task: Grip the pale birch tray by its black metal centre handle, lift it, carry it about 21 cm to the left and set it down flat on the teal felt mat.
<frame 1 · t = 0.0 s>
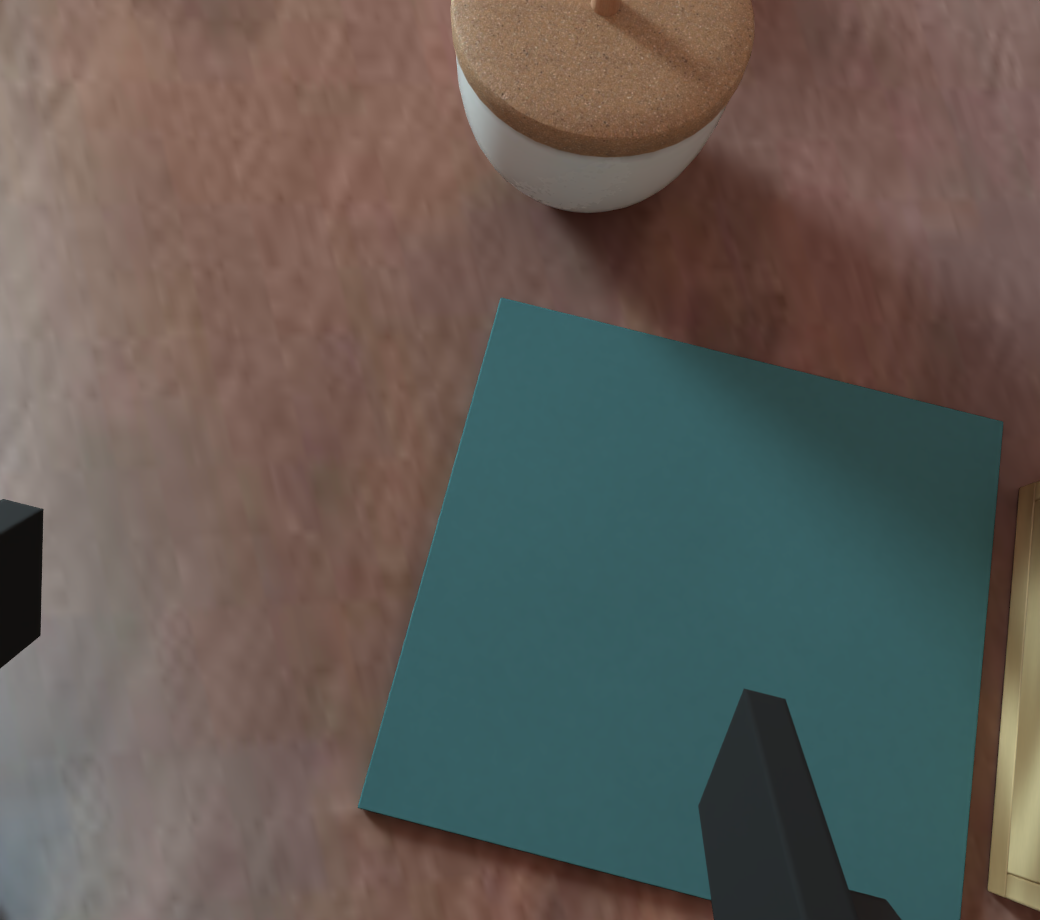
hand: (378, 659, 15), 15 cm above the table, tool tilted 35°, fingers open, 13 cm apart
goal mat: (704, 599, 31), on the table
white jar with lid: (578, 151, 36), on the table
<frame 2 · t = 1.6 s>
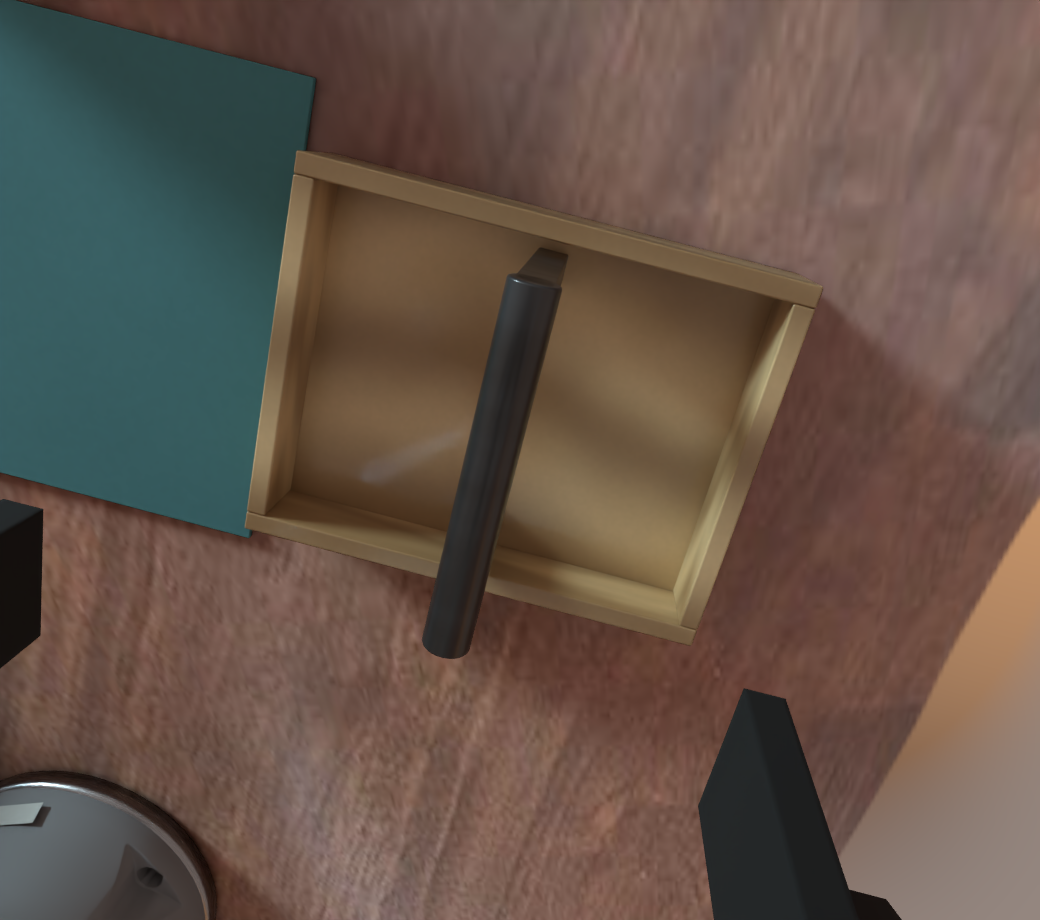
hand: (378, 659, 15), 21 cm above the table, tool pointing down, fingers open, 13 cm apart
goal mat: (43, 267, 35), on the table
tray: (519, 391, 35), on the table
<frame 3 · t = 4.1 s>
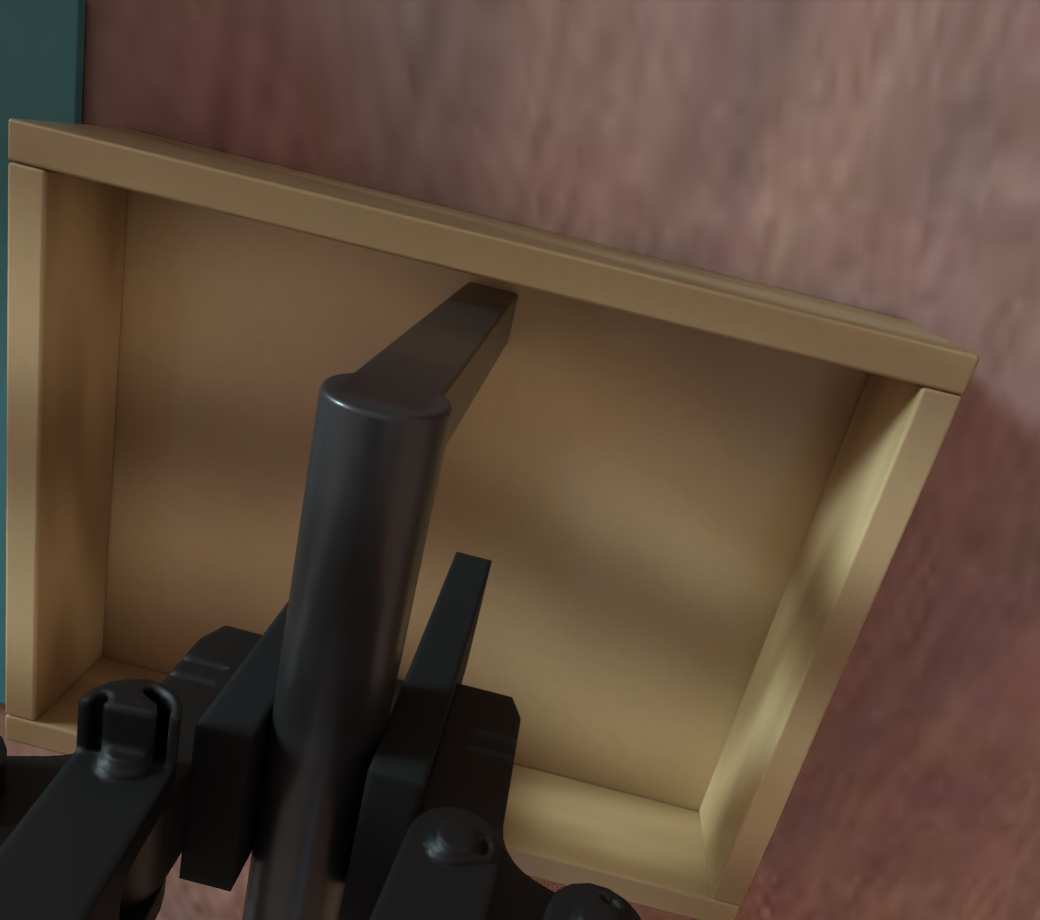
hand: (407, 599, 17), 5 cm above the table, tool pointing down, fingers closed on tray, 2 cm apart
tray: (450, 507, 22), on the table, touching gripper
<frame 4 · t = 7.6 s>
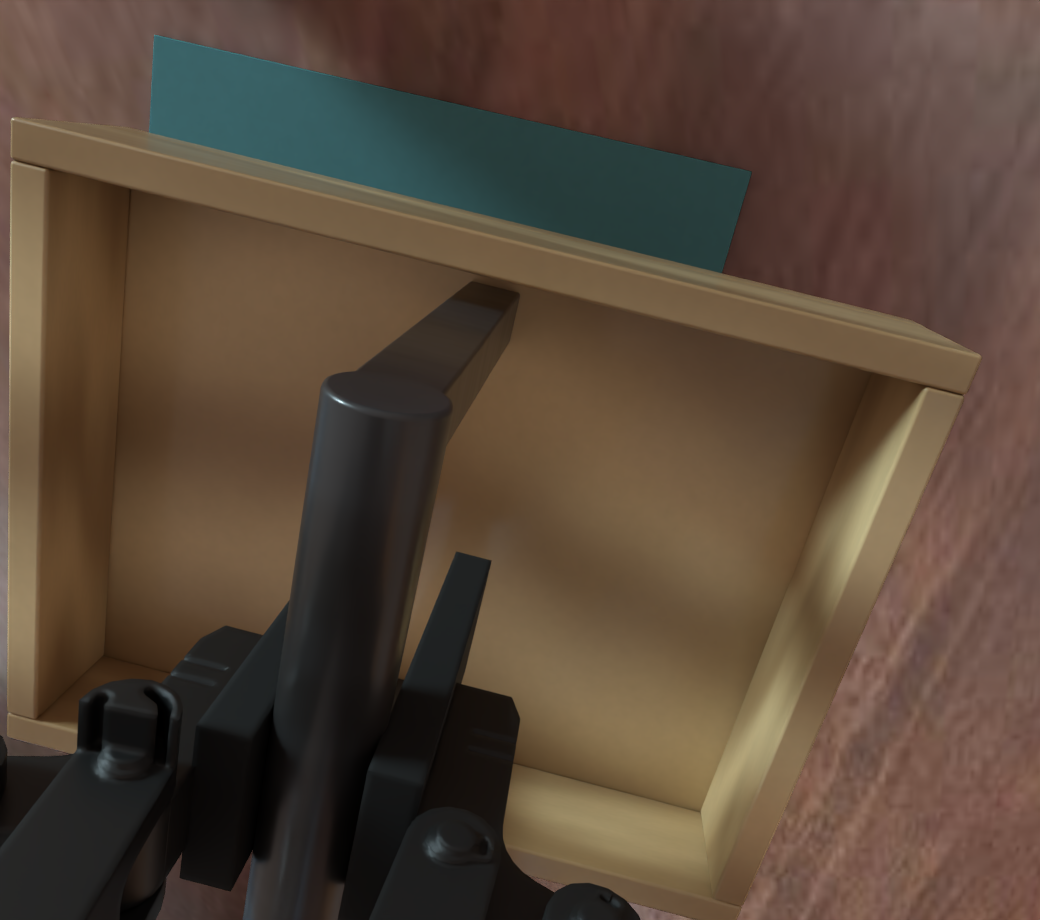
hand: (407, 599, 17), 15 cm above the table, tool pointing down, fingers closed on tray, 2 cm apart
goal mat: (404, 378, 32), on the table
tray: (452, 507, 22), point 10 cm above the table, touching gripper
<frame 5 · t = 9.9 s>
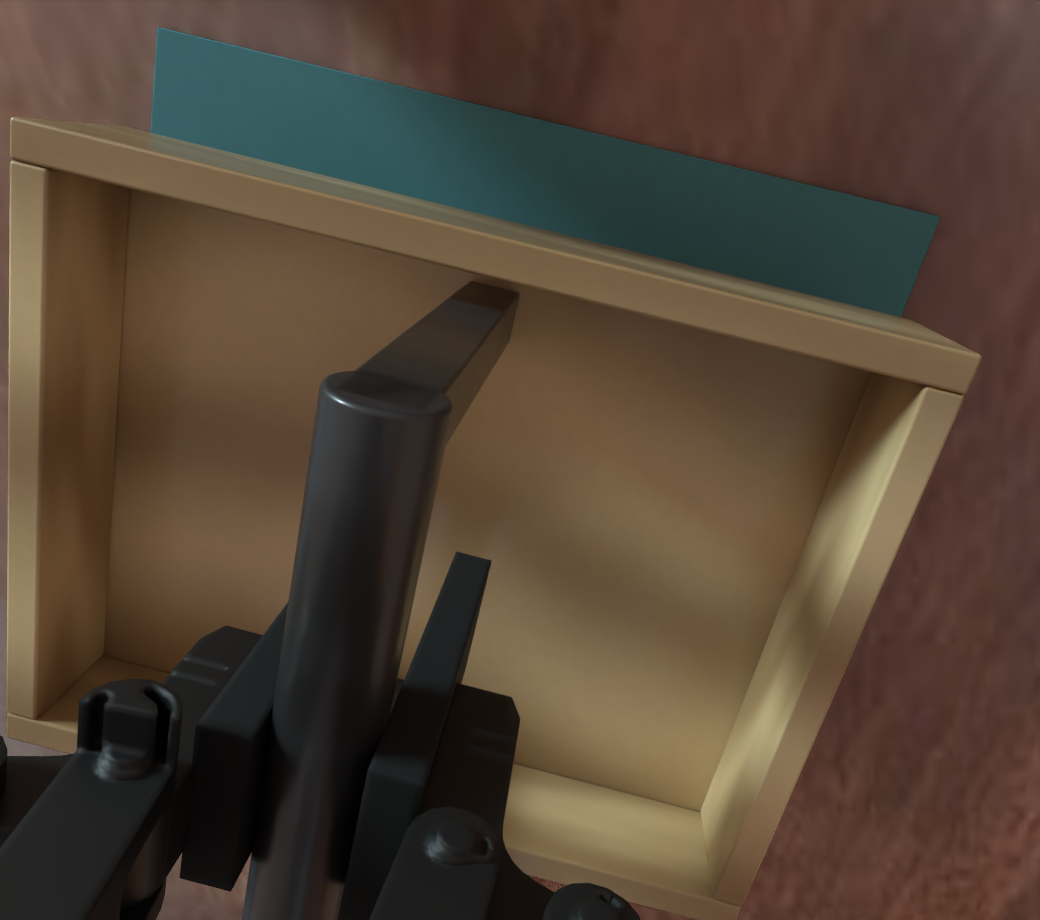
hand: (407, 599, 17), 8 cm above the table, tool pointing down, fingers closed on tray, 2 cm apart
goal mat: (469, 466, 25), on the table
tray: (451, 507, 22), point 3 cm above the table, touching gripper
when the fingers open (5 cm above the table, at t = 10.9 s): tray stays where it is, resting on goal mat.
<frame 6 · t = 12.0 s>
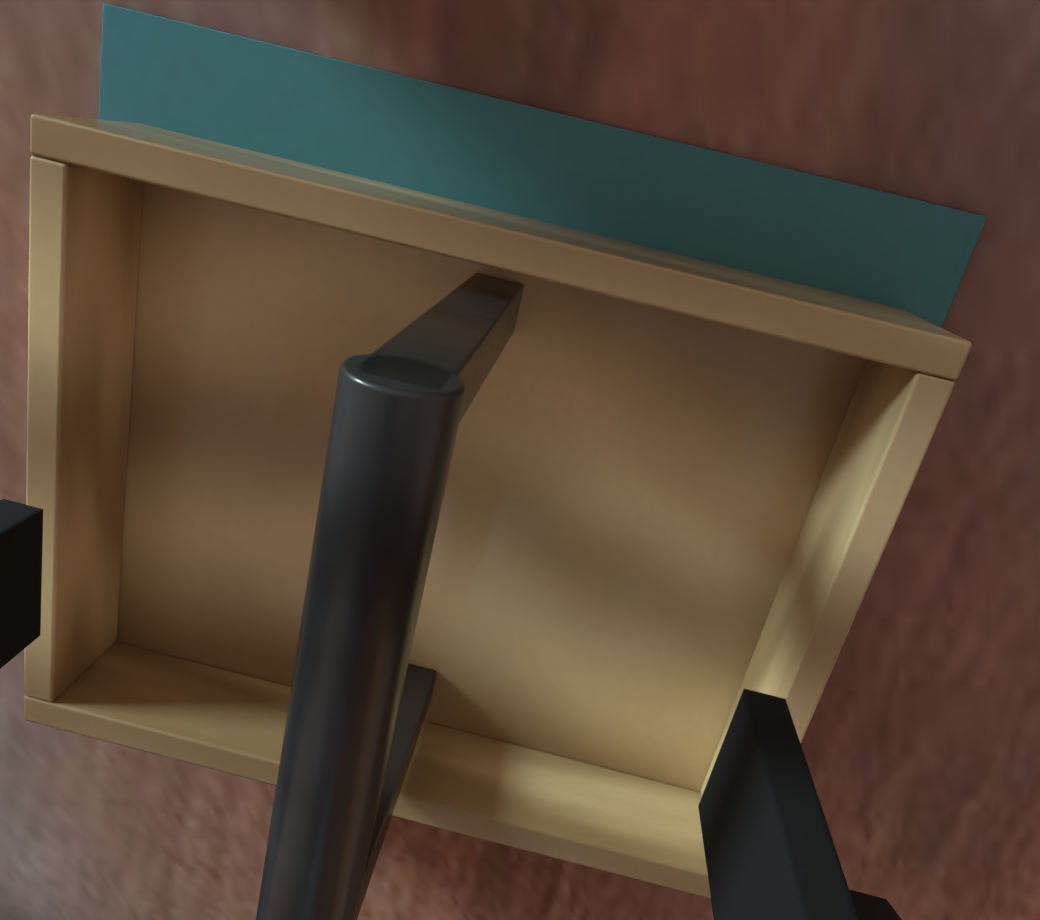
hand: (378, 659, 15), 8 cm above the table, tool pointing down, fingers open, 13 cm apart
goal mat: (457, 493, 23), on the table
tray: (457, 494, 22), resting on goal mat
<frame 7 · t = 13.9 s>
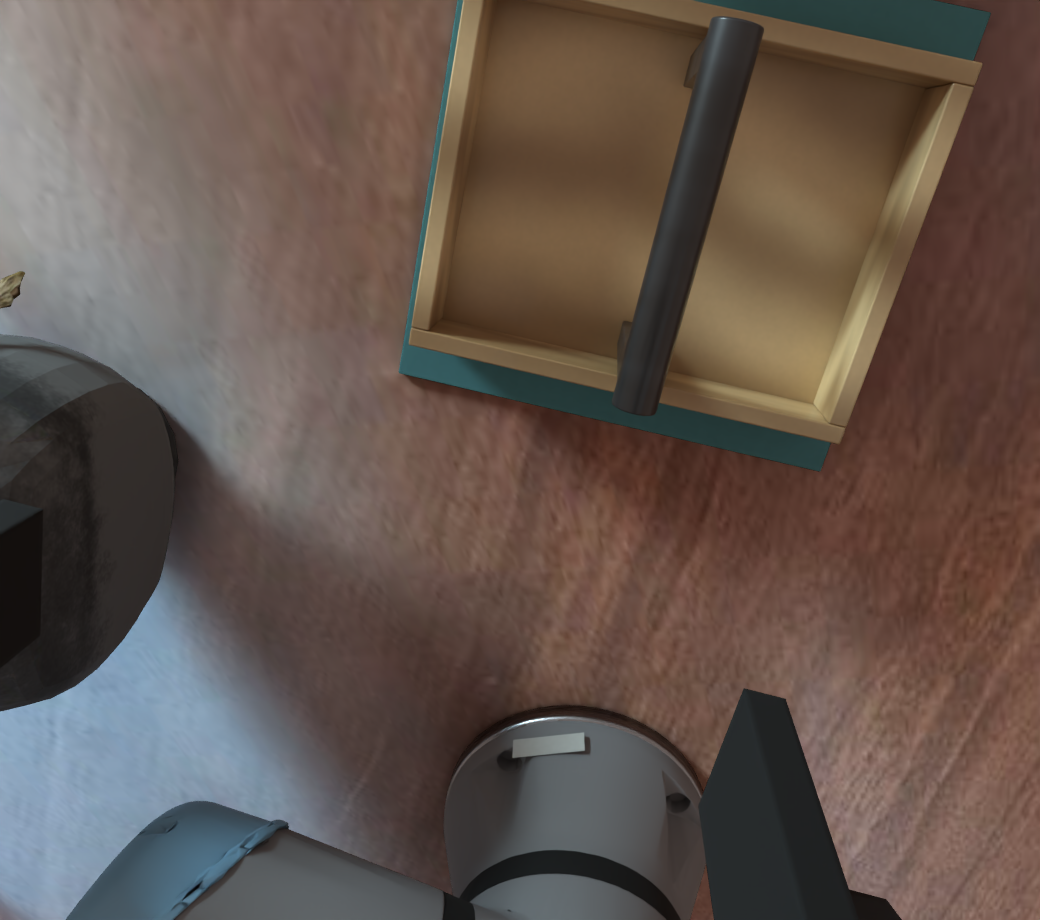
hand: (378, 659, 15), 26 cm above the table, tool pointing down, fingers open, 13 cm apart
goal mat: (662, 212, 36), on the table
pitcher: (117, 416, 43), on the table
tray: (663, 210, 36), resting on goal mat
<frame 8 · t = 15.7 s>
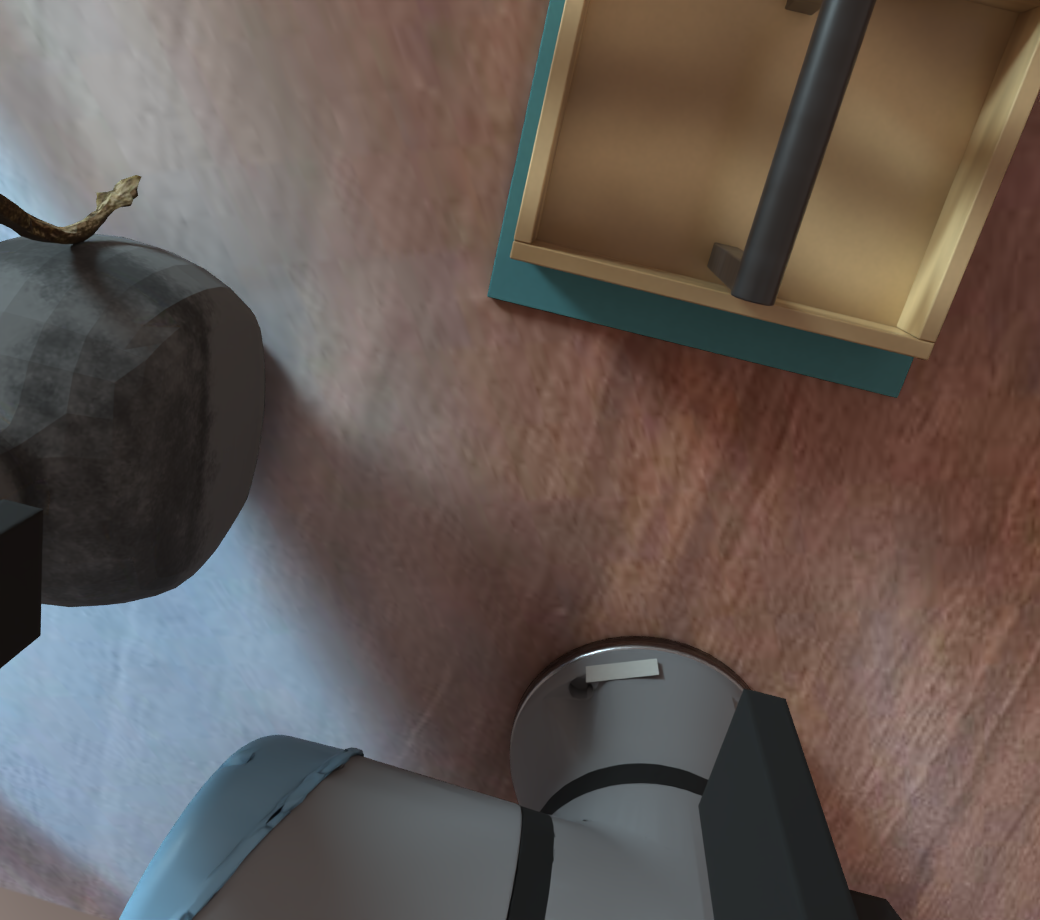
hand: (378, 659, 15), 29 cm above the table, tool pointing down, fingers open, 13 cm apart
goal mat: (754, 137, 38), on the table
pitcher: (202, 340, 44), on the table
tray: (756, 135, 37), resting on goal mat
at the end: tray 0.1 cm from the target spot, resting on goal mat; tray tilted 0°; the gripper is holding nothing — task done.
